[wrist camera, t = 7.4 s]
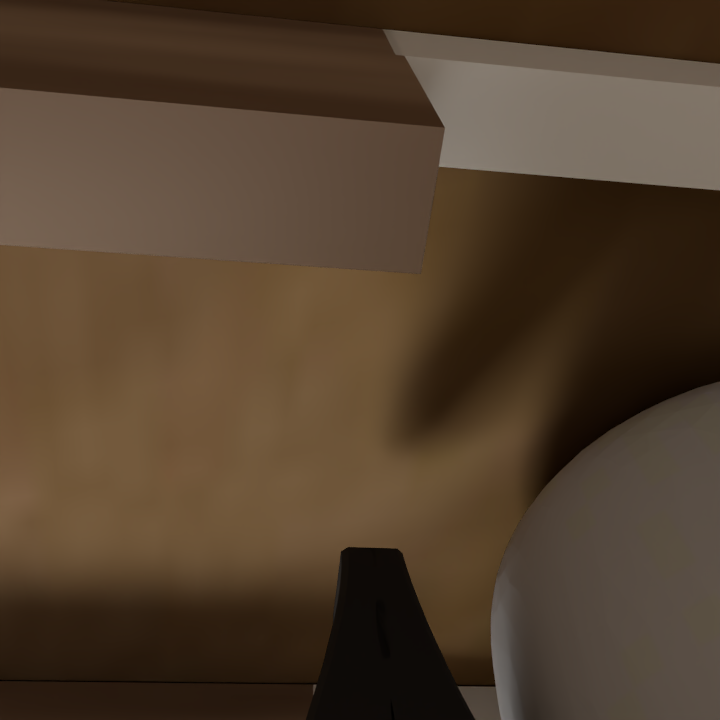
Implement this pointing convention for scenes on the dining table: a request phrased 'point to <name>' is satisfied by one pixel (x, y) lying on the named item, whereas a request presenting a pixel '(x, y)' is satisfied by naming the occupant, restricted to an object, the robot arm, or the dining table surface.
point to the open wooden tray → (206, 193)
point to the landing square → (567, 126)
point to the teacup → (619, 577)
